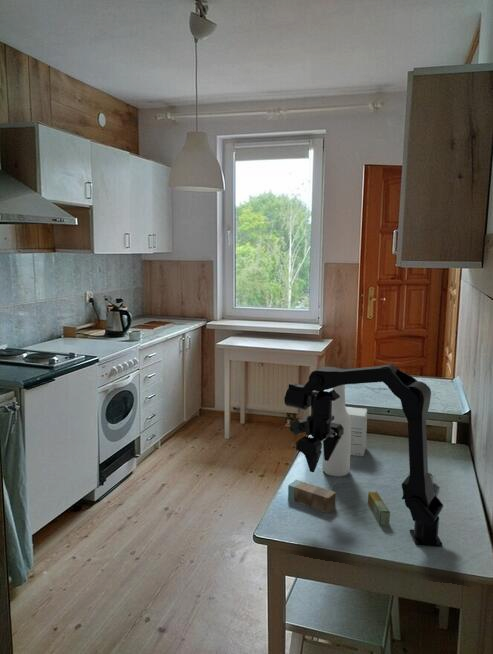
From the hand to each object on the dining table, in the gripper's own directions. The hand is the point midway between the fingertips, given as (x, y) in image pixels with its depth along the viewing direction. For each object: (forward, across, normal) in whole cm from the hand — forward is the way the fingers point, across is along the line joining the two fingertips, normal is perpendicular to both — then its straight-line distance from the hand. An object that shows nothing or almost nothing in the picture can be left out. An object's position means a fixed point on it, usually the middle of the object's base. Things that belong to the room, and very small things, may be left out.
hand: (319, 466), depth 143 cm
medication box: (+12, -5, +16) cm, 21 cm away
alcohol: (+12, -23, -5) cm, 27 cm away
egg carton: (+12, -29, +21) cm, 38 cm away
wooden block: (+10, 0, +4) cm, 11 cm away
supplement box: (+12, -43, -8) cm, 45 cm away
